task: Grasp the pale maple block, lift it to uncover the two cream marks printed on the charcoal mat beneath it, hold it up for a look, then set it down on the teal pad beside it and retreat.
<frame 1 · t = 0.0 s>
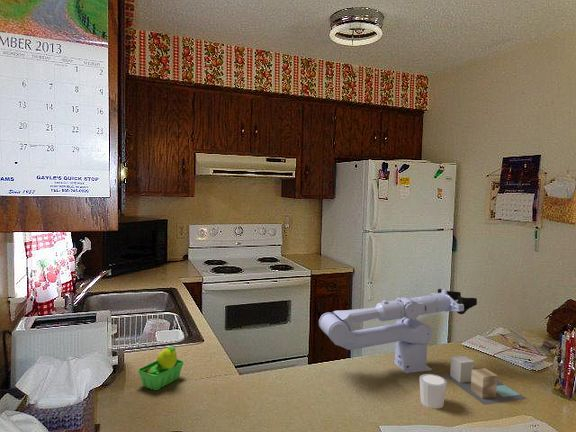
hand: (467, 298, 130), 22 cm above the countertop, tool horizontal, fingers open, 7 cm apart
fruit basket: (163, 383, 114), on the countertop
maple block: (483, 393, 110), point 1 cm above the countertop, touching code mat
white tapered cylinder: (431, 405, 105), on the countertop
code mat: (481, 387, 115), on the countertop
grey block: (461, 378, 119), point 1 cm above the countertop, touching code mat
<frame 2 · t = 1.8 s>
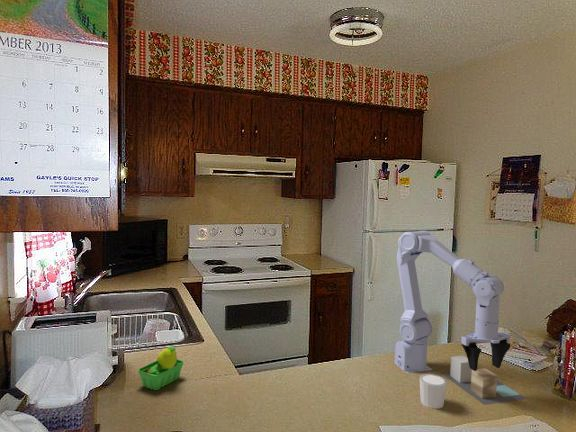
hand: (484, 367, 109), 8 cm above the countertop, tool pointing down, fingers open, 7 cm apart
nothing on the countertop moved.
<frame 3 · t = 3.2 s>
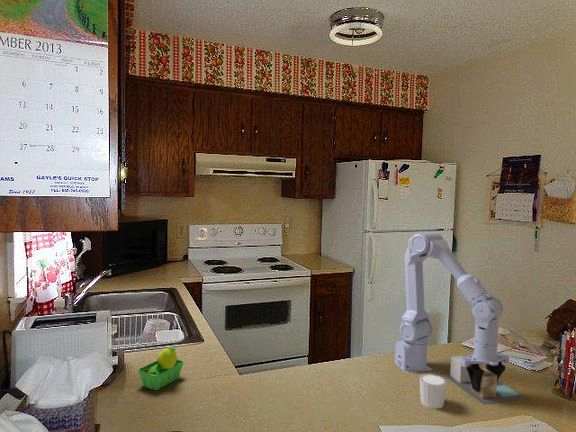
hand: (483, 389, 110), 2 cm above the countertop, tool pointing down, fingers closed on maple block, 4 cm apart
maple block: (483, 393, 110), point 1 cm above the countertop, touching code mat, gripper
everything else where it was.
when the fingers open (3 cm above the countertop, at t = 8.2 s): maple block drops 1 cm, resting on code mat.
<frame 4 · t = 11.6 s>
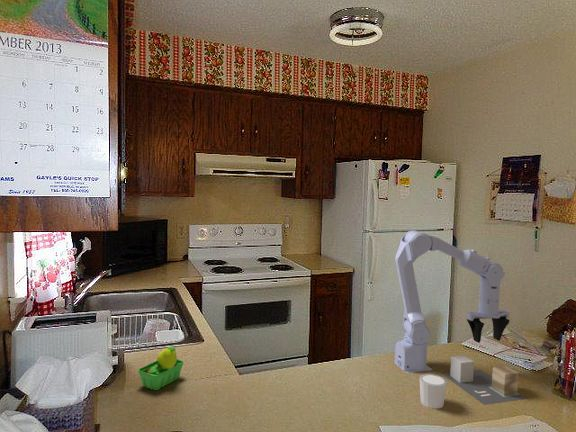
hand: (486, 340, 126), 9 cm above the countertop, tool pointing down, fingers open, 7 cm apart
maple block: (504, 390, 112), point 1 cm above the countertop, touching code mat
everything else where it was.
at the end: maple block 0.1 cm from the target spot, point 0.6 cm above the countertop; maple block tilted 0°; grey block moved 0.0 cm from its start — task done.
